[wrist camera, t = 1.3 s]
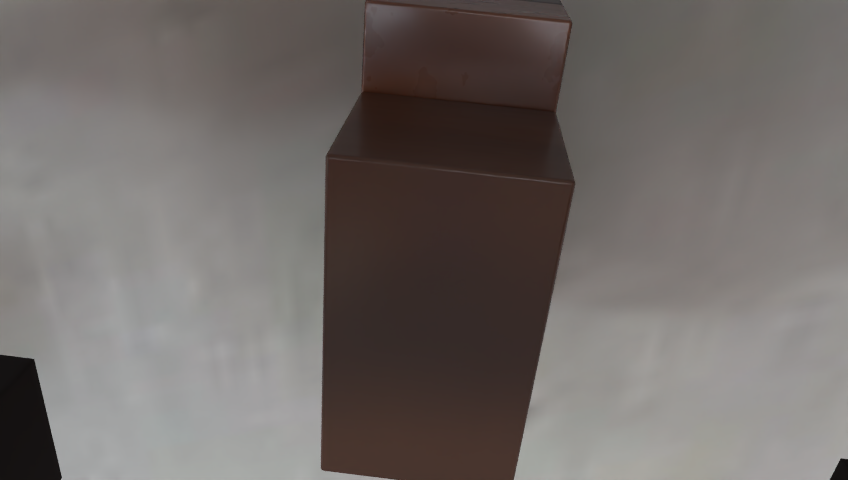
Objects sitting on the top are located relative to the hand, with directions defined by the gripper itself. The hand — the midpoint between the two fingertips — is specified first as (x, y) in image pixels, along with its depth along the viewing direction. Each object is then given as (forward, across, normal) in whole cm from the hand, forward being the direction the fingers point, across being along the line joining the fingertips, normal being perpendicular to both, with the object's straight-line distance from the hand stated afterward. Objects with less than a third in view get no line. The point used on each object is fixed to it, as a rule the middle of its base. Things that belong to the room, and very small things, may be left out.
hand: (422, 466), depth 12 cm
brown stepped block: (+10, 0, 0) cm, 11 cm away
